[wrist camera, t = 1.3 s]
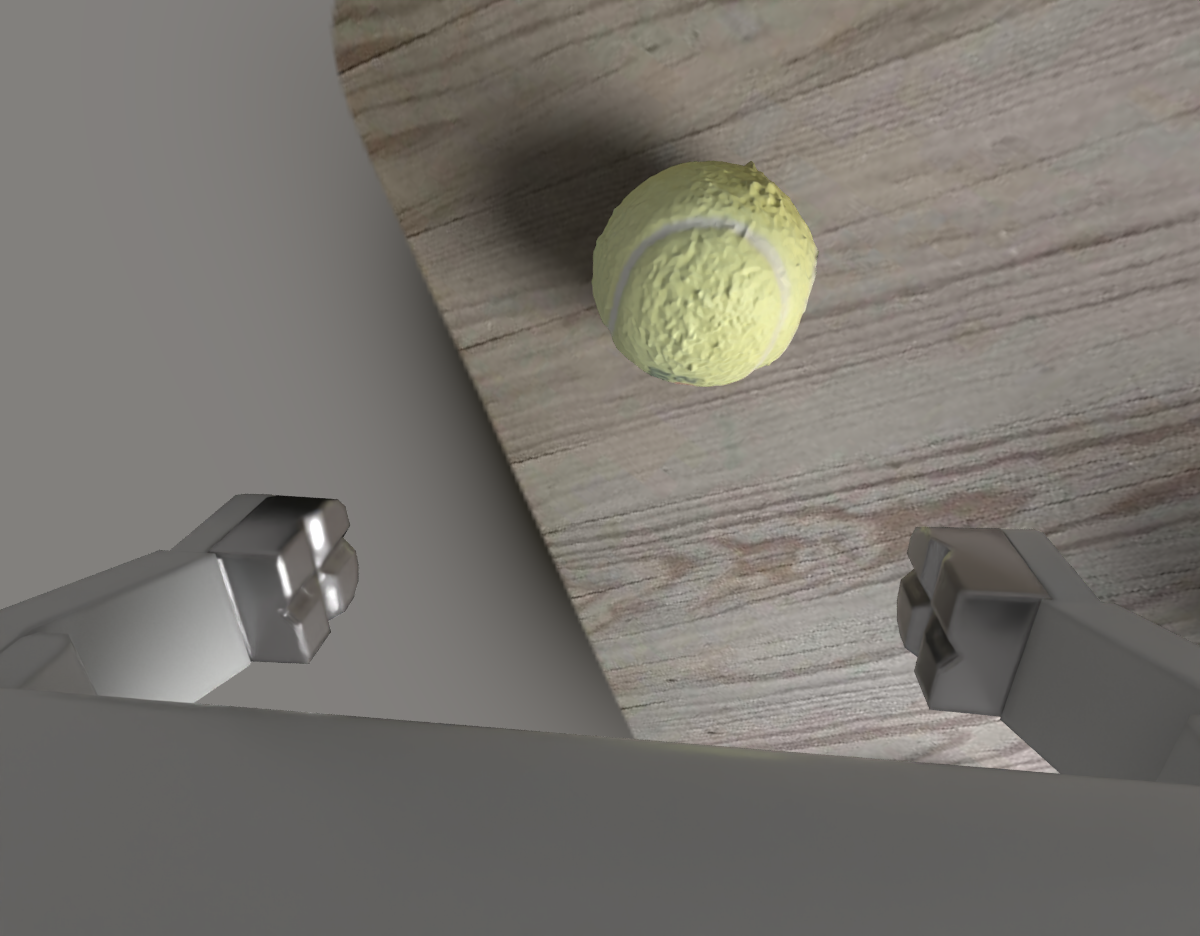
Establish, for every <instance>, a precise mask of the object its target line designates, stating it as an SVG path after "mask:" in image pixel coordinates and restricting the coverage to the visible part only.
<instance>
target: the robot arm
mask: <svg viewBox="0 0 1200 936" xmlns="http://www.w3.org/2000/svg"><path fill="white" fill-rule="evenodd" d="M349 527H350V522H349V519H348V515H347V511H346V507H345V506H344V505H343V504H342V503H341V502H340V501H339V500H338V499H325V498H310V497H295V496H279V495H276V496H274V495H269V494H241V495H235V496H234V497H233V498H232V499H230V500H229V501H228V502H227V503H226V504H224V505H223V506H222V507H221V508H220V509H219V510H217V511H216V512H215V513H214V514H213V515H212V516H210V517H209V518H208V519H207V520H205V521H204V522H203V523H202V524H201V525H200V526H198V527H197V528H196V529H195V530H194V531H192V532H191V533H190V534H189V535H188V536H187V537H185V538H184V539H183V540H182V541H180V542H179V543H178V544H177V545H176V546H175V547H173V548H172V549H171V550H170V551H165V550H164V551H163V550H159V551H156V552H153V553H151V554H148V555H145V556H143V557H140V558H137V559H135V560H132V561H130V562H127V563H124V564H121V565H119V566H116V567H113V568H111V569H108V570H106V571H103V572H100V573H97V574H95V575H92V576H89V577H87V578H84V579H81V580H79V581H76V582H73V583H71V584H68V585H65V586H63V587H60V588H57V589H55V590H52V591H50V592H47V593H44V594H41V595H39V596H36V597H33V598H31V599H28V600H25V601H23V602H20V603H18V604H15V605H12V606H9V607H7V608H4V609H1V610H0V936H1200V646H1199V645H1197V644H1195V643H1193V642H1191V641H1189V640H1187V639H1185V638H1183V637H1181V636H1179V635H1177V634H1175V633H1173V632H1171V631H1169V630H1167V629H1165V628H1163V627H1161V626H1159V625H1157V624H1155V623H1153V622H1151V621H1149V620H1147V619H1145V618H1143V617H1141V616H1139V615H1137V614H1135V613H1133V612H1131V611H1129V610H1127V609H1125V608H1123V607H1121V606H1119V605H1117V604H1115V603H1102V602H1101V601H1100V600H1099V599H1098V598H1097V596H1096V595H1095V594H1094V593H1093V592H1092V590H1091V589H1090V588H1089V587H1088V586H1087V584H1086V583H1085V582H1084V581H1083V580H1082V578H1081V577H1080V576H1079V575H1078V574H1077V572H1076V571H1075V570H1074V569H1073V568H1072V566H1071V565H1070V564H1069V563H1068V562H1067V560H1066V559H1065V558H1064V557H1063V556H1062V554H1061V553H1060V552H1059V551H1058V550H1057V548H1056V547H1055V546H1054V545H1053V544H1052V542H1051V541H1050V540H1049V539H1048V538H1047V536H1046V535H1045V534H1044V533H1043V532H1040V531H1038V530H1036V529H999V528H954V527H916V528H915V530H914V532H913V534H912V536H911V538H910V542H909V546H908V550H907V555H908V557H909V559H910V561H911V563H912V565H913V567H914V569H913V570H912V571H911V572H909V573H908V574H907V575H906V576H905V577H904V578H903V579H901V582H900V587H899V592H898V598H897V622H898V627H899V633H900V636H901V639H902V641H903V644H904V647H905V648H906V649H907V650H909V651H910V652H911V653H913V654H914V655H915V656H917V657H918V658H917V662H916V666H915V670H914V672H915V675H916V677H917V680H918V682H919V685H920V687H921V690H922V692H923V695H924V697H925V699H926V702H927V704H928V707H929V709H930V710H939V711H950V712H960V713H970V714H980V715H990V716H1000V717H1001V718H1000V720H1001V721H1002V722H1004V723H1005V724H1006V725H1007V726H1008V727H1009V728H1010V729H1011V730H1012V731H1014V732H1015V733H1016V734H1017V735H1018V736H1019V737H1020V738H1021V739H1022V740H1024V741H1025V742H1026V743H1027V744H1028V745H1029V746H1030V747H1031V748H1032V749H1034V750H1035V751H1036V752H1037V753H1038V754H1039V755H1040V756H1041V757H1043V758H1044V759H1045V760H1046V761H1047V762H1048V763H1049V764H1050V765H1051V766H1053V767H1054V768H1055V769H1056V770H1057V771H1058V772H1059V773H1060V774H1056V773H1044V772H1031V771H1019V770H1007V769H995V768H982V767H970V766H958V765H945V764H933V763H921V762H908V761H896V760H884V759H872V758H859V757H847V756H835V755H822V754H810V753H798V752H785V751H773V750H761V749H749V748H736V747H724V746H712V745H699V744H687V743H675V742H662V741H650V740H638V739H626V738H613V737H601V736H589V735H577V734H565V733H552V732H540V731H527V730H515V729H503V728H491V727H479V726H466V725H455V724H442V723H430V722H418V721H405V720H393V719H381V718H369V717H356V716H344V715H332V714H320V713H308V712H295V711H283V710H271V709H258V708H247V707H234V706H222V705H210V704H197V703H194V702H196V701H197V700H199V699H200V698H202V697H203V696H205V695H206V694H207V693H209V692H211V691H212V690H214V689H215V688H216V687H218V686H219V685H221V684H222V683H224V682H225V681H227V680H228V679H230V678H231V677H233V676H234V675H236V674H237V673H239V672H240V671H242V670H243V669H245V668H246V667H248V666H249V665H250V664H251V661H257V662H278V663H300V664H309V663H310V661H311V660H312V659H313V657H314V656H315V654H316V653H317V651H318V650H319V648H320V647H321V646H322V644H323V643H324V641H325V640H326V638H327V637H328V635H329V634H330V633H331V630H330V626H329V622H328V621H329V620H331V619H332V618H334V617H336V616H338V615H339V614H341V613H343V612H345V611H346V609H347V608H348V606H349V604H350V603H351V601H352V600H353V598H354V594H355V590H356V587H357V584H358V560H357V555H356V551H355V550H354V548H353V547H352V546H351V545H350V544H349V543H348V542H347V541H346V540H345V539H344V538H343V537H344V535H345V533H346V532H347V530H348V528H349Z"/></svg>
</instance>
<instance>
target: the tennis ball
mask: <svg viewBox="0 0 1200 936" xmlns="http://www.w3.org/2000/svg"><path fill="white" fill-rule="evenodd" d="M818 253H819V251H818V249H817V248H816V246H815V244H814V242H813V238H812V235H811V232H810V230H809V228H808V226H807V225H806V224H805V221H804V220H803V219H802V218H801V216H800V214H799V213H798V211H797V209H796V208H795V206H794V204H792V203H791V201H790V198H789V197H788V196H787V195H785V194H784V193H783V192H782V191H781V190H780V189H779V188H778V187H777V186H776V185H775V184H774V182H771V181H770V180H769V179H768V178H767V177H766V176H765V175H764V174H763V173H762V172H759V171H758V170H757V169H756V167H755V164H754V163H753V162H752V161H750V162H749V163H747V164H746V165H745V166H742V165H737V164H731V163H727V162H718V161H706V162H696V161H694V162H688V163H681V164H679V165H676V166H672V167H669V168H668V169H666V170H663V171H661V172H660V173H658V174H656V175H654V176H651V177H650V178H648V179H647V180H646V181H644V182H643V183H642V184H640V185H639V186H638V187H637V188H636V189H634V190H633V191H631V192H630V194H629V195H627V196H626V198H624V199H623V201H622V203H621V204H620V205H619V206H618V207H616V208H614V211H613V214H612V216H611V217H610V219H609V220H608V224H607V226H606V227H605V229H604V231H603V234H602V235H600V236H599V237H598V239H597V241H596V247H595V249H594V251H593V278H592V281H591V283H592V285H593V297H594V300H595V302H596V306H597V310H598V312H599V315H600V317H601V320H602V322H603V324H604V325H605V326H606V327H608V329H609V330H610V332H611V335H612V339H613V342H614V344H615V346H616V348H617V349H618V350H619V351H620V352H621V353H622V354H623V355H624V356H625V357H626V358H627V359H628V360H630V361H631V362H633V363H634V364H635V365H636V366H638V367H639V368H640V369H642V370H643V371H644V372H646V373H648V374H649V375H651V376H654V377H657V378H660V379H662V380H666V381H668V382H673V383H677V384H686V385H693V386H699V387H710V386H719V385H726V384H730V383H732V382H736V381H738V380H741V379H743V378H745V377H746V376H747V375H749V374H750V373H751V372H752V371H753V370H754V369H758V368H761V367H763V366H765V365H767V366H769V365H770V364H771V363H772V362H773V361H774V360H776V359H778V358H779V357H780V355H781V354H782V353H783V352H784V351H785V350H786V349H787V347H788V346H789V344H790V342H791V340H792V338H793V336H794V334H795V332H796V330H797V328H798V325H799V322H800V319H801V316H802V314H803V313H804V312H805V310H806V305H807V300H808V297H809V294H810V292H811V289H812V284H813V282H814V280H815V275H816V274H817V272H816V265H817V257H818Z"/></svg>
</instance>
